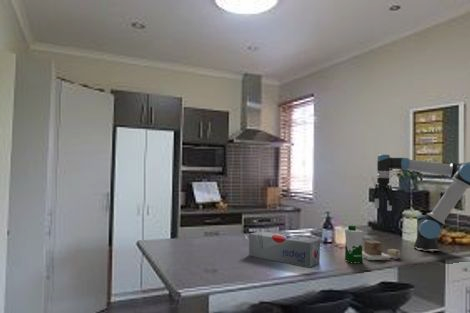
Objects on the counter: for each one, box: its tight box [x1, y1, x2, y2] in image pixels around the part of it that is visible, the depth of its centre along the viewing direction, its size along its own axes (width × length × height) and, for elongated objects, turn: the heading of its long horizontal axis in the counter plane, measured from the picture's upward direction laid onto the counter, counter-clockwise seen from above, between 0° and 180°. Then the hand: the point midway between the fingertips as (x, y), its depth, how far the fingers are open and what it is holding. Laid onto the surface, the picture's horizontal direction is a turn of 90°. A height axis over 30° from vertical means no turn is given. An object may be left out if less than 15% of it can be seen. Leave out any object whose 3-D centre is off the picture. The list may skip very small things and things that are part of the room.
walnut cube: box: [363, 240, 383, 255], centre depth 216 cm, size 7×7×7 cm
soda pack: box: [248, 230, 321, 268], centre depth 207 cm, size 41×13×14 cm, turn 53°
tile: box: [362, 250, 391, 259], centre depth 216 cm, size 14×14×2 cm
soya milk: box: [344, 225, 365, 264], centre depth 206 cm, size 9×9×20 cm
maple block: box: [386, 248, 401, 257], centre depth 216 cm, size 5×5×5 cm
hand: (382, 209), depth 240 cm, fingers open, 13 cm apart
